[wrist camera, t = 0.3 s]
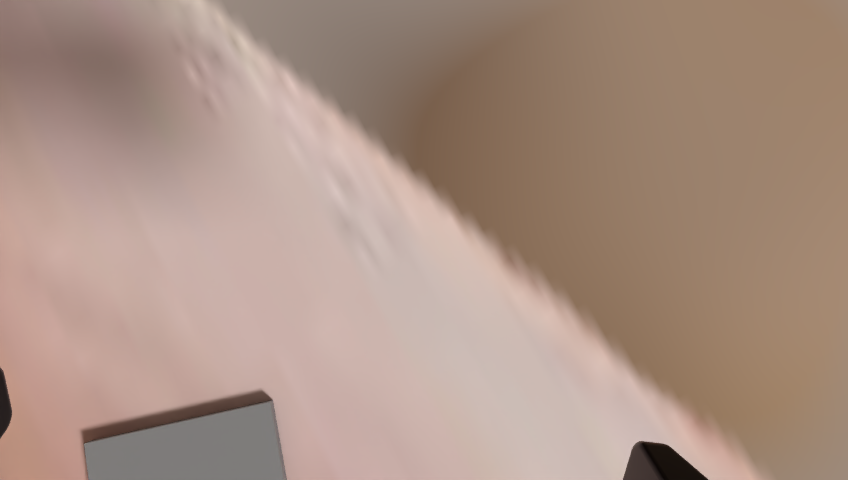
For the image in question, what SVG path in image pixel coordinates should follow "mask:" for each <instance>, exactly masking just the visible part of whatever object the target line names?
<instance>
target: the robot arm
mask: <svg viewBox="0 0 848 480" xmlns="http://www.w3.org/2000/svg"><path fill="white" fill-rule="evenodd" d="M11 417H12V408H11V403H10V399H9V394H8V389H7V385H6V380H5V376H4V372H3V370H2V369H1V368H0V438H1V437H2V435H3V434H4V432H5V431H6V429H7V428H8V426H9V423H10V421H11ZM623 480H708V479H707V478H706V477H705V476H704V475H702V474H701V473H700V472H699V471H698V470H697V469H695V468H694V467H693V466H692V465H691V464H690V463H688V462H687V461H686V460H685V459H684V458H683V457H681V456H680V455H679V454H678V453H677V452H676V451H674V450H673V449H672V448H671V447H669V446H668V445H666V444H662V443H653V442H645V441H639V442H637V443H636V444H635V445H634V446H633V449H632V451H631V455H630V458H629V461H628V464H627V468H626V471H625V474H624V478H623Z"/></svg>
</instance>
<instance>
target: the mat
mask: <svg viewBox="0 0 848 480" xmlns="http://www.w3.org/2000/svg"><path fill="white" fill-rule="evenodd" d="M84 448H85V456H86V463H87V471H88V478H89V480H287V479H286V473H285V467H284V462H283V456H282V450H281V444H280V439H279V433H278V427H277V422H276V416H275V410H274V404H273V400H270V401H266V402H261V403H257V404H253V405H248V406H244V407H239V408H235V409H230V410H226V411H221V412H217V413H212V414H208V415H204V416H199V417H195V418H190V419H186V420H181V421H177V422H172V423H168V424H164V425H159V426H155V427H150V428H146V429H141V430H137V431H132V432H128V433H123V434H119V435H115V436H110V437H106V438H101V439H97V440H92V441H89V442H87V443H84Z"/></svg>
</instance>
